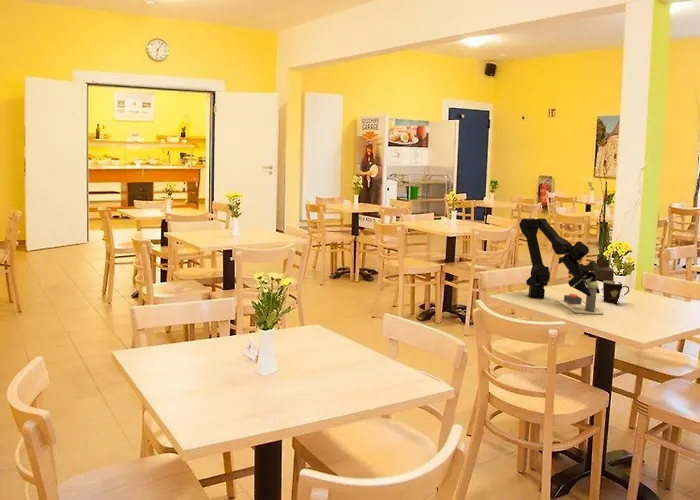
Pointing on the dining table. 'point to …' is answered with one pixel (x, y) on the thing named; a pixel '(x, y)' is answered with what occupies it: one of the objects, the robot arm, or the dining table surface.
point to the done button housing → (572, 300)
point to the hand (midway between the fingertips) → (594, 294)
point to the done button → (572, 295)
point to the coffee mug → (612, 291)
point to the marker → (591, 299)
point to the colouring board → (579, 308)
